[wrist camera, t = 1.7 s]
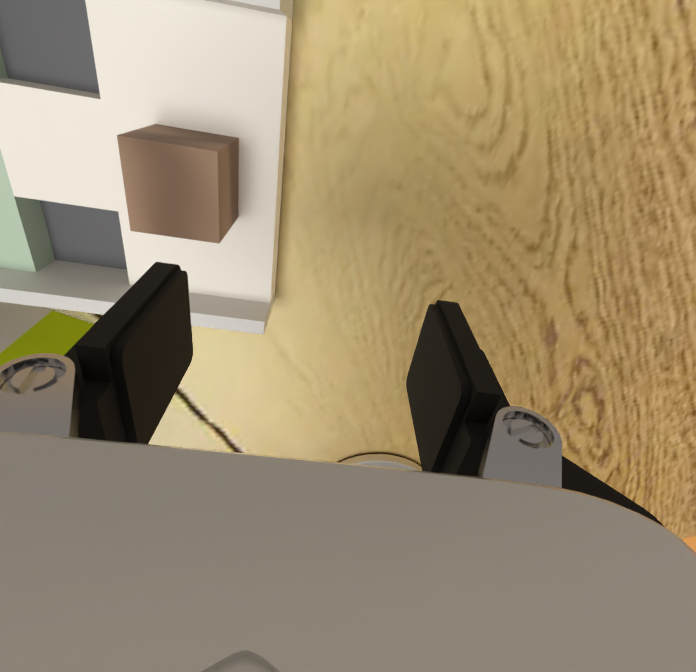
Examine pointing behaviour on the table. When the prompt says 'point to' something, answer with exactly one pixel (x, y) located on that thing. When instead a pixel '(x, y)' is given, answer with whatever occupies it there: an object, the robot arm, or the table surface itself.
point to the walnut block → (180, 182)
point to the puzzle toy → (36, 331)
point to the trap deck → (127, 115)
